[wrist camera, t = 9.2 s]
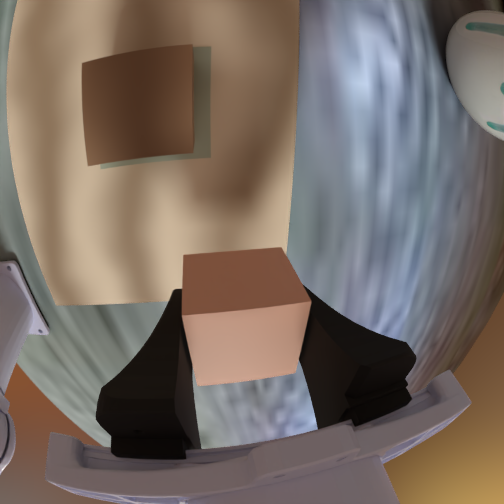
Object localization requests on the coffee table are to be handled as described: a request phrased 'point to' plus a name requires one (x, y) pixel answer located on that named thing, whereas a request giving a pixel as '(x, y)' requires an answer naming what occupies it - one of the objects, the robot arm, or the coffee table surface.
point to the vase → (479, 67)
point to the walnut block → (139, 104)
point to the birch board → (160, 167)
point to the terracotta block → (243, 314)
